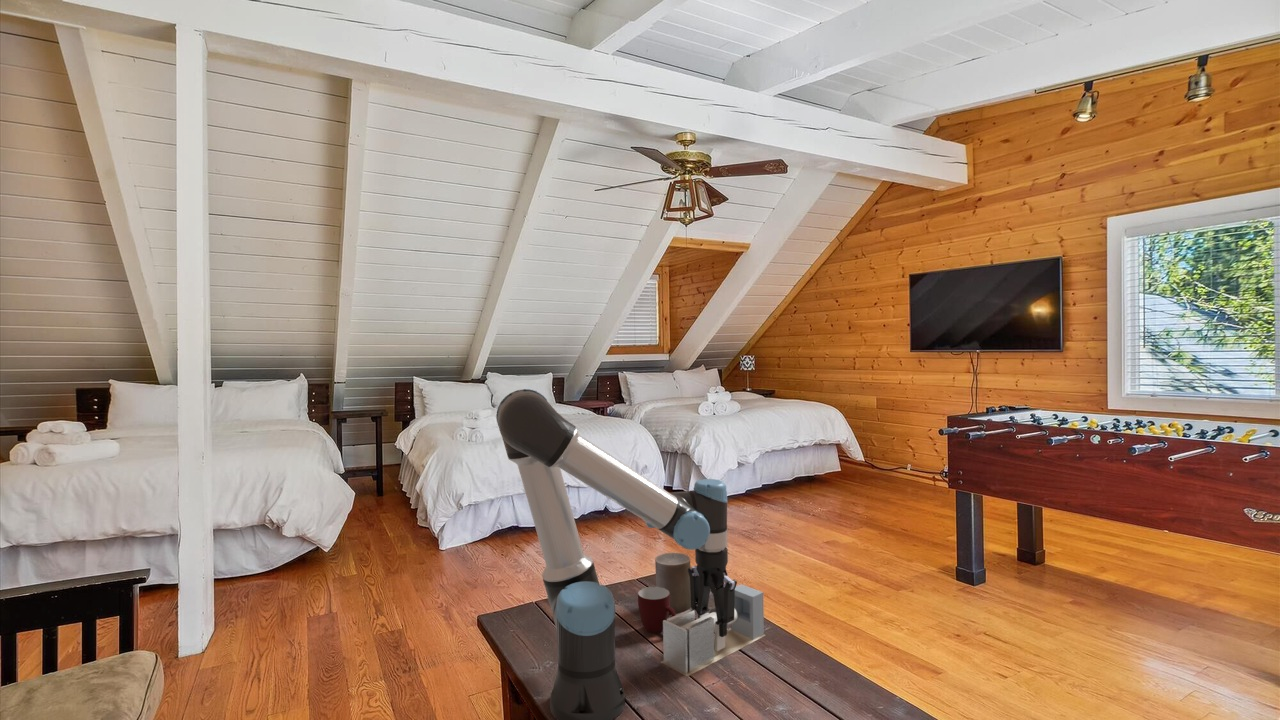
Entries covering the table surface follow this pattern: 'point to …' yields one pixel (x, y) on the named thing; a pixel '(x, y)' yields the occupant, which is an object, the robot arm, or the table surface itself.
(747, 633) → the socket block
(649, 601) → the mug
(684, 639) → the grey u-shaped bracket
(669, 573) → the pillar candle
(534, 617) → the table surface
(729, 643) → the base board
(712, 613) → the slip tube
